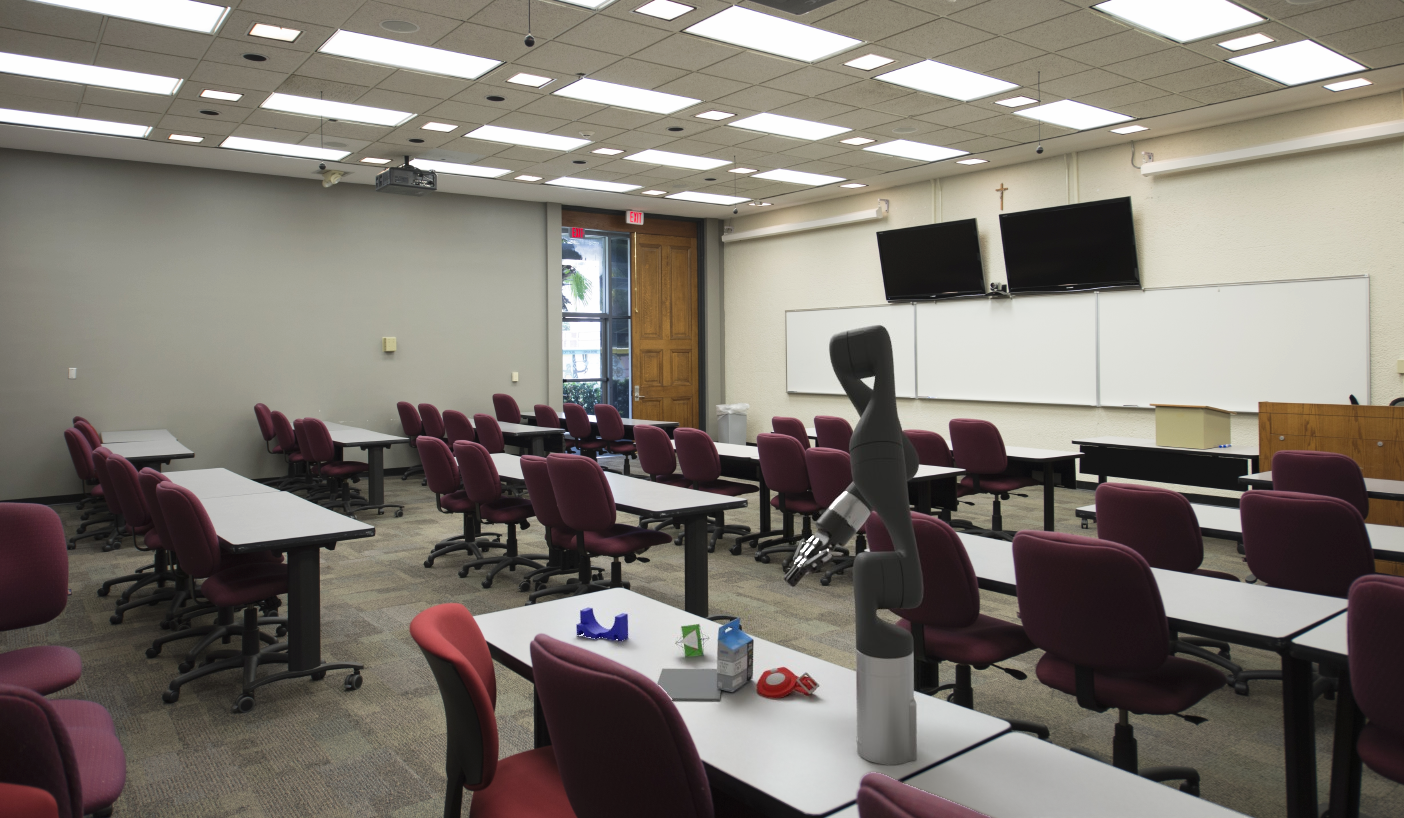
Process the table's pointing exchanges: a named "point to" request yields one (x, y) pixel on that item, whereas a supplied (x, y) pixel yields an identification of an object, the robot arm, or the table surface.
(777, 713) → the table surface
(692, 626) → the geometric puzzle
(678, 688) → the mat
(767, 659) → the table surface
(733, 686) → the label tape box
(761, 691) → the tracker holder
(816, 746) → the table surface
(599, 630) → the blue cradle support
